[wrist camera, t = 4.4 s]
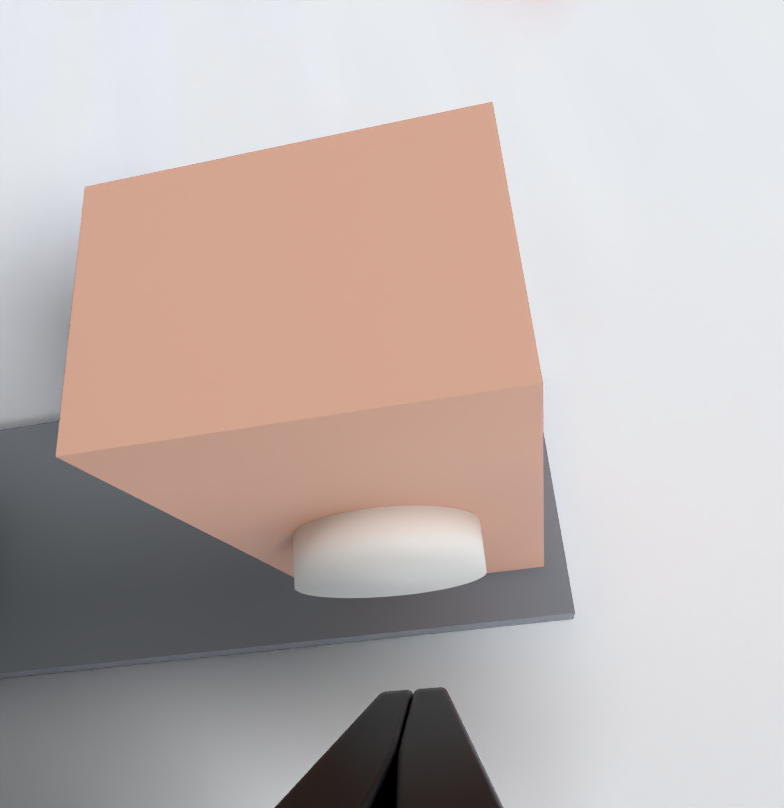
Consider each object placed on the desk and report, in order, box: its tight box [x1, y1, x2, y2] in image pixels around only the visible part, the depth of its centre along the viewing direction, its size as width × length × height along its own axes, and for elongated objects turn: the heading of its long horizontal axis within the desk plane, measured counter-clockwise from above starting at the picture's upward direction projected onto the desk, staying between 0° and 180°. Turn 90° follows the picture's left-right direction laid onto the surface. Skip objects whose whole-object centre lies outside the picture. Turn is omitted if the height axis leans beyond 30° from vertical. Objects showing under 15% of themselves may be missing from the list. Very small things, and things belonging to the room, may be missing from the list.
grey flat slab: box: [0, 421, 575, 679], centre depth 19 cm, size 6×20×1 cm, turn 95°
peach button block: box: [56, 102, 544, 598], centre depth 12 cm, size 4×5×10 cm
